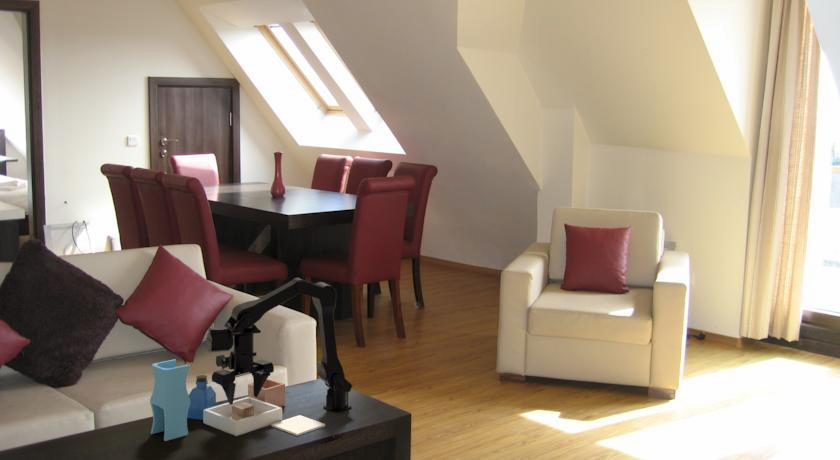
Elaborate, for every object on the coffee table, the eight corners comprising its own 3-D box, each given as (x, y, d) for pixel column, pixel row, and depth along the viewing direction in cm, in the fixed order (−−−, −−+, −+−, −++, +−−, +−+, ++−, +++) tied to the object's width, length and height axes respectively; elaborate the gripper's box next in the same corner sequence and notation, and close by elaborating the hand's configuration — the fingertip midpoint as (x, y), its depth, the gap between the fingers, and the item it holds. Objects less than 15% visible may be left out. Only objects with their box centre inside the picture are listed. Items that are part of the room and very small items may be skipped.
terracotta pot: (267, 399, 276) (268, 378, 275) (284, 405, 271) (285, 384, 270) (247, 405, 270) (248, 384, 269) (264, 412, 265) (265, 389, 264)
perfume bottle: (206, 420, 257) (206, 380, 255) (187, 418, 258) (187, 378, 256) (215, 413, 263) (215, 374, 261) (196, 411, 264) (196, 372, 262)
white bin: (249, 408, 267) (249, 396, 266) (282, 421, 258) (282, 408, 257) (203, 422, 254) (203, 409, 253) (236, 436, 245) (236, 422, 244)
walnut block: (244, 416, 259) (244, 401, 258) (254, 420, 256) (254, 405, 255) (232, 420, 255) (232, 405, 255) (241, 424, 253) (241, 409, 252)
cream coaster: (299, 416, 262) (299, 414, 261) (325, 426, 255) (325, 424, 255) (271, 426, 253) (271, 424, 253) (297, 435, 246) (297, 433, 246)
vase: (190, 434, 245) (190, 365, 242) (165, 441, 239) (164, 370, 237) (175, 426, 250) (174, 359, 248) (150, 433, 245) (149, 364, 242)
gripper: (250, 337, 265) (250, 387, 267) (199, 349, 251) (200, 401, 253) (275, 344, 258) (274, 395, 260) (224, 357, 244) (224, 410, 246)
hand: (243, 400), depth 255 cm, fingers open, 9 cm apart
